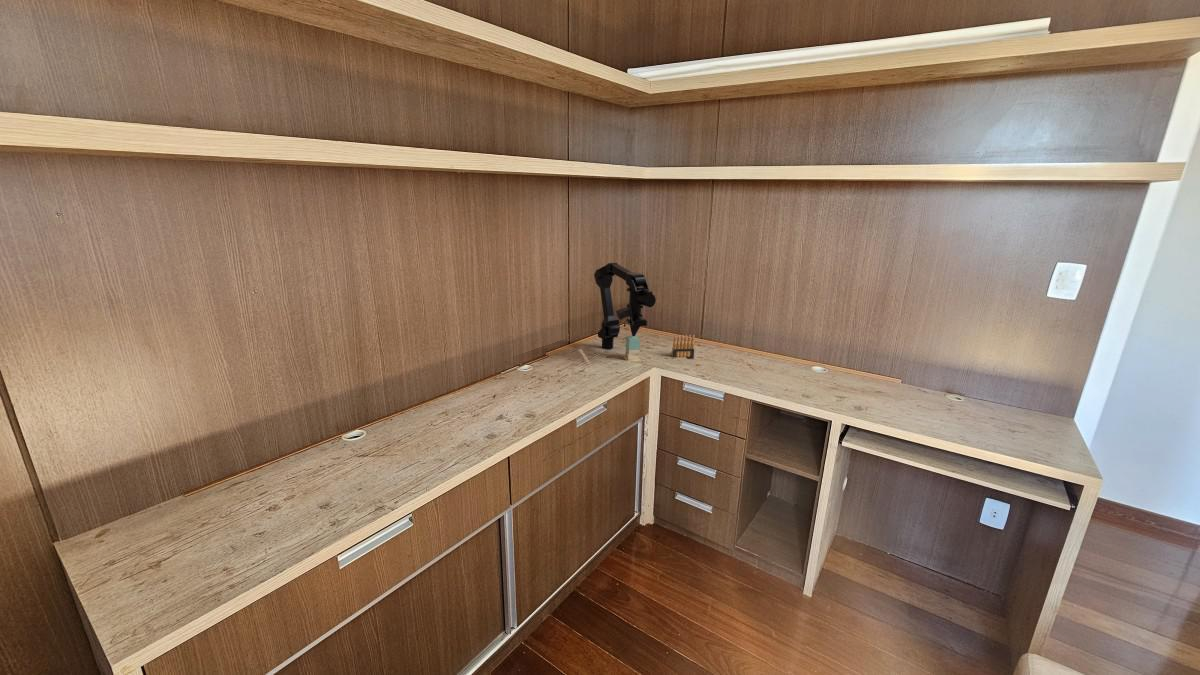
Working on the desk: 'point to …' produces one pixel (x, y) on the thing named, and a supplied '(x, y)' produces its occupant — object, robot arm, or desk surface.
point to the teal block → (632, 343)
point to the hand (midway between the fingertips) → (633, 336)
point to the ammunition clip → (683, 347)
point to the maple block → (632, 354)
